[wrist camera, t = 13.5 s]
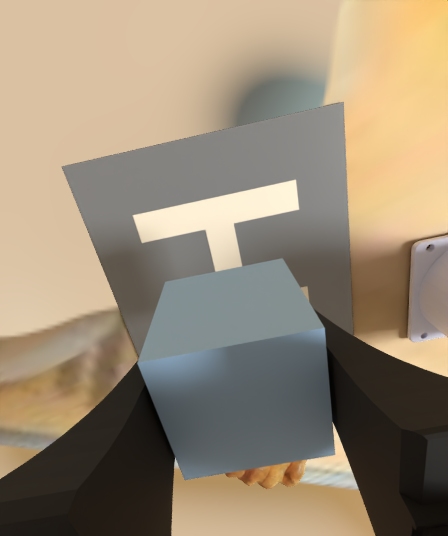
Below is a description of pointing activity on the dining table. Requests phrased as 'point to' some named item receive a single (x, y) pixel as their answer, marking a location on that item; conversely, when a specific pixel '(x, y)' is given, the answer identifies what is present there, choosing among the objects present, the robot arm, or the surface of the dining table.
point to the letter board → (223, 211)
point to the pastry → (272, 474)
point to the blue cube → (239, 371)
